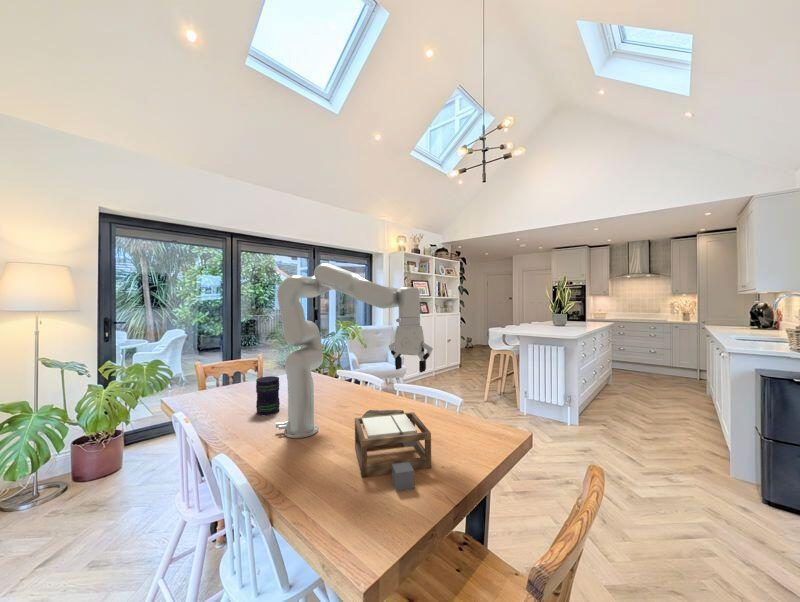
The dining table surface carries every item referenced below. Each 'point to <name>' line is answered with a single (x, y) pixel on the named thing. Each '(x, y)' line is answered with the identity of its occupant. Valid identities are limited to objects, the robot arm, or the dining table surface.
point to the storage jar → (267, 395)
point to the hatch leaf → (389, 427)
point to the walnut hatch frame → (386, 467)
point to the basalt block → (402, 476)
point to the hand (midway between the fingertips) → (410, 370)
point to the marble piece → (381, 412)
